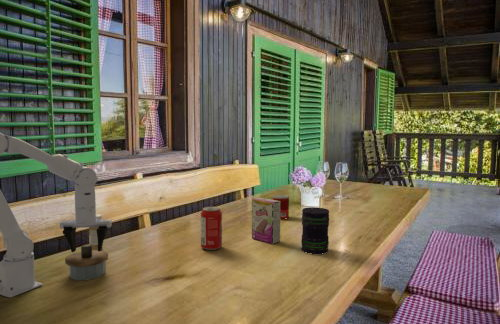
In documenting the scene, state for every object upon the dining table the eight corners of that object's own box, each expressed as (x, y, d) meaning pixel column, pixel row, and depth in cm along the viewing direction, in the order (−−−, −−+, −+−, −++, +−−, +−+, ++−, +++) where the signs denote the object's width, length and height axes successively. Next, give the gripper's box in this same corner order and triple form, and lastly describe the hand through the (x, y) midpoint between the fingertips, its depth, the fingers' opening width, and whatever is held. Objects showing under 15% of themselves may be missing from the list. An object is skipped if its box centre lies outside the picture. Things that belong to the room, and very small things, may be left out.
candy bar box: (251, 239, 158) (251, 198, 157) (259, 236, 162) (259, 197, 160) (272, 244, 150) (273, 202, 149) (280, 242, 154) (281, 200, 153)
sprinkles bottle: (91, 250, 143) (90, 213, 142) (104, 250, 143) (103, 213, 142) (87, 254, 138) (86, 216, 137) (101, 254, 139) (99, 216, 138)
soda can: (197, 249, 144) (196, 209, 143) (206, 243, 151) (206, 205, 150) (216, 252, 141) (216, 211, 140) (225, 246, 149) (225, 206, 147)
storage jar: (312, 244, 151) (312, 206, 150) (333, 250, 144) (334, 210, 143) (295, 250, 144) (296, 210, 143) (317, 256, 137) (318, 214, 136)
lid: (88, 271, 112) (87, 254, 112) (56, 266, 116) (55, 249, 116) (116, 258, 123) (115, 242, 123) (85, 253, 127) (85, 238, 127)
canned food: (291, 217, 195) (291, 195, 194) (283, 220, 189) (284, 198, 188) (277, 215, 199) (277, 194, 198) (269, 218, 193) (270, 196, 192)
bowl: (86, 282, 114) (85, 267, 113) (62, 276, 118) (61, 261, 118) (112, 271, 123) (111, 257, 122) (89, 265, 127) (88, 252, 127)
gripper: (55, 210, 114) (57, 255, 115) (107, 208, 115) (108, 254, 117) (63, 205, 121) (65, 248, 122) (112, 204, 122) (113, 246, 124)
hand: (86, 250), depth 120 cm, fingers open, 7 cm apart
